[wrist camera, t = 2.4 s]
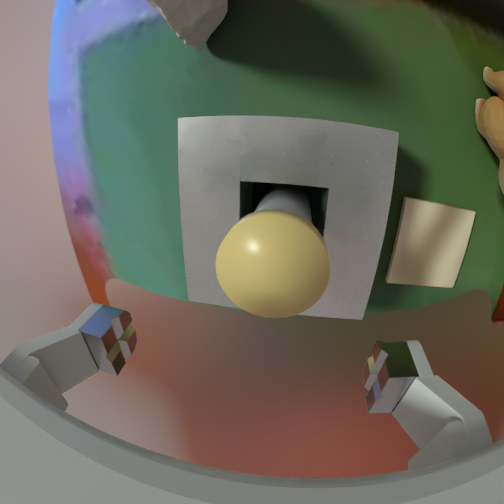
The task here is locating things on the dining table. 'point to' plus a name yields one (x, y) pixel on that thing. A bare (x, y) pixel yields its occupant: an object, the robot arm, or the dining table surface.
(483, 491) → the robot arm
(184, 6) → the stone tool
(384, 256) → the dining table surface
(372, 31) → the dining table surface
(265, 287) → the plug
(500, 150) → the toy
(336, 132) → the housing
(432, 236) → the coaster
